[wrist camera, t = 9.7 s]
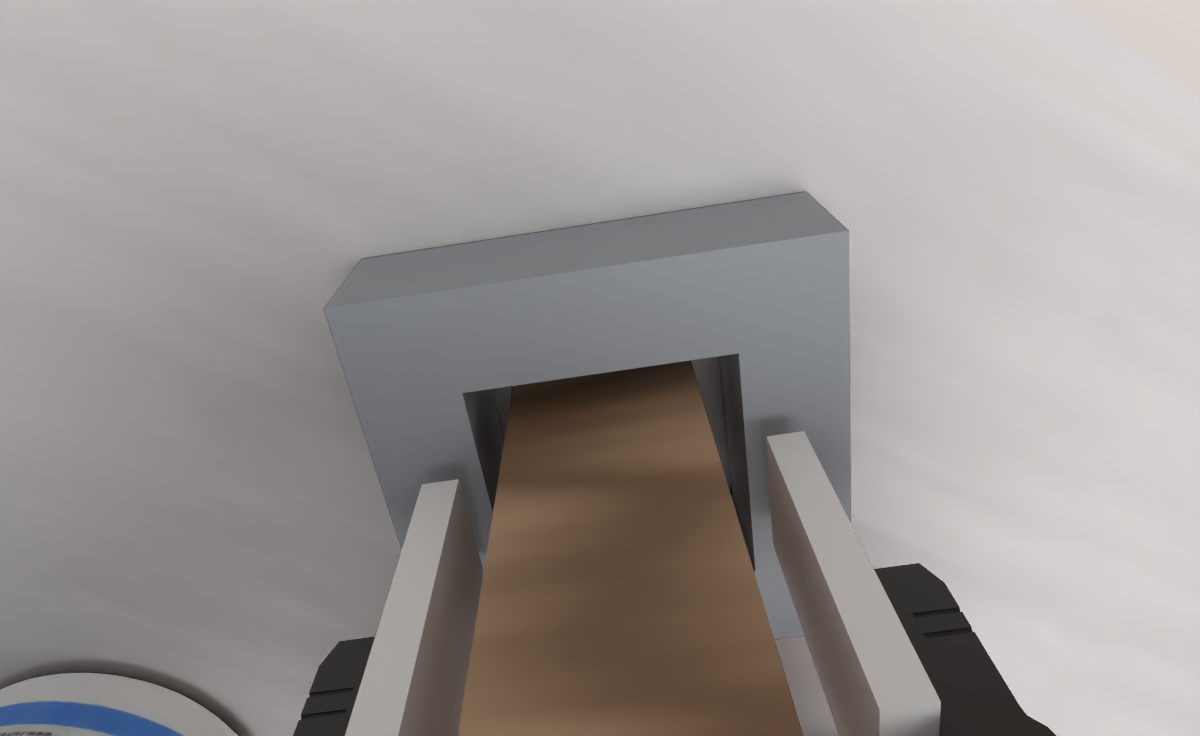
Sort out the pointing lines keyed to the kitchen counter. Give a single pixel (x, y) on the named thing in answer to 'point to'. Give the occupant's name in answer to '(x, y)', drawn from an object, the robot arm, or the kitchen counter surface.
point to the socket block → (606, 346)
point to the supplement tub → (101, 708)
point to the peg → (619, 573)
